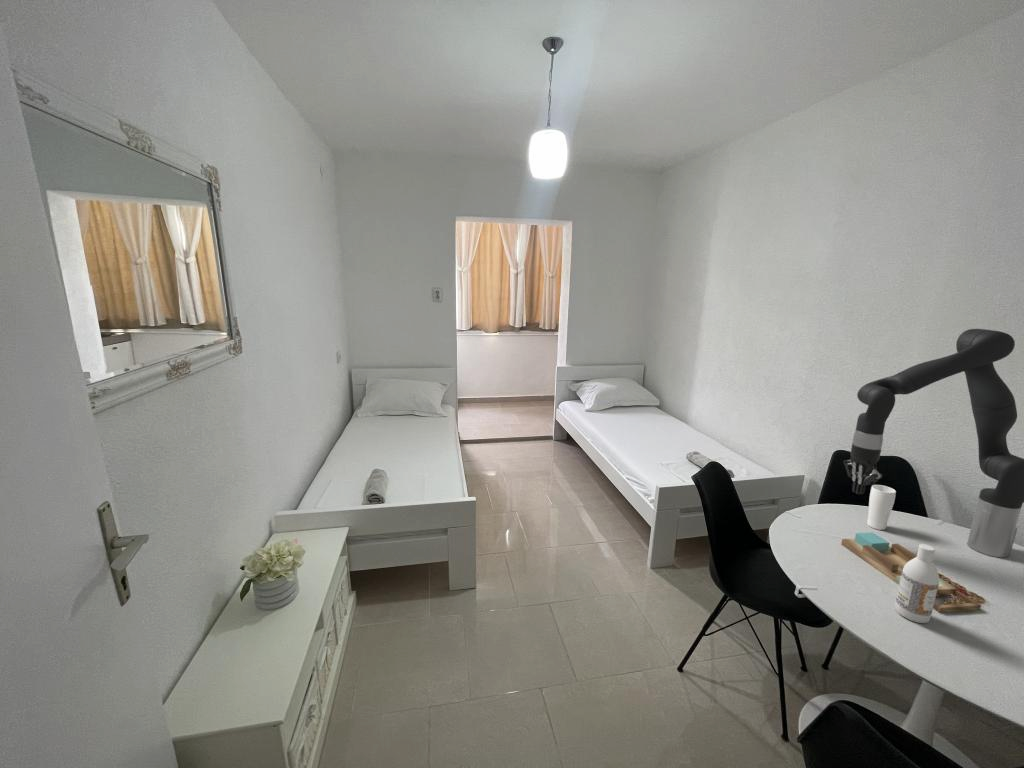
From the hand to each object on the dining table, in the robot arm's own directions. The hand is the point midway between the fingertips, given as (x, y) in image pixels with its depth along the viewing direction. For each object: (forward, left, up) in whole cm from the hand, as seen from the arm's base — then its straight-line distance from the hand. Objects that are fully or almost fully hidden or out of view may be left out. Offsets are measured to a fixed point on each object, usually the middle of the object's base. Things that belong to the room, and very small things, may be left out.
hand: (857, 492), depth 145 cm
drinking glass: (-16, -6, -17) cm, 24 cm away
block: (0, +8, -15) cm, 17 cm away
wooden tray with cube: (0, +19, -17) cm, 26 cm away
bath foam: (+14, +35, -17) cm, 41 cm away
